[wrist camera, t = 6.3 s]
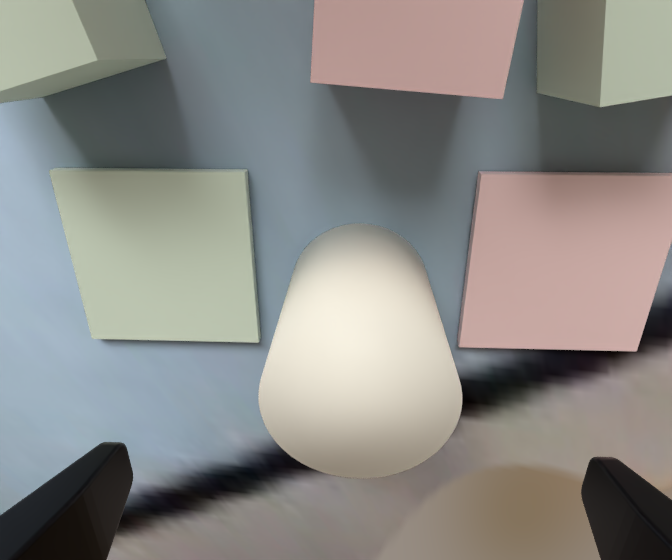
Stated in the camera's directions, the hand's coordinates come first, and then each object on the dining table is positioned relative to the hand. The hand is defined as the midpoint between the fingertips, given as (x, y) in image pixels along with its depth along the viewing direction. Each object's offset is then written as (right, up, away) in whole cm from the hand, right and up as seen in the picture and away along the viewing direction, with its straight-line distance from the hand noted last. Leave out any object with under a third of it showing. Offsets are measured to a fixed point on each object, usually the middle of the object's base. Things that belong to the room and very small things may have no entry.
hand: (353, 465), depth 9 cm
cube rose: (+1, +11, +3) cm, 12 cm away
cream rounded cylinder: (0, +3, +7) cm, 8 cm away
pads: (0, +4, +6) cm, 8 cm away
